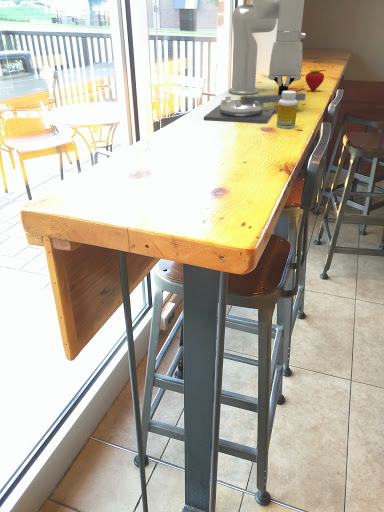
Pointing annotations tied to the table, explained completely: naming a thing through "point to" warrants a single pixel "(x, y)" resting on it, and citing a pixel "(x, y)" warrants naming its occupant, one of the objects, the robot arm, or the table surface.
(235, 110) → the grey disc with handle
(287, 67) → the robot arm
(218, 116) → the plate
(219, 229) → the table surface
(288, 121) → the supplement bottle
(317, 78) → the strawberry
